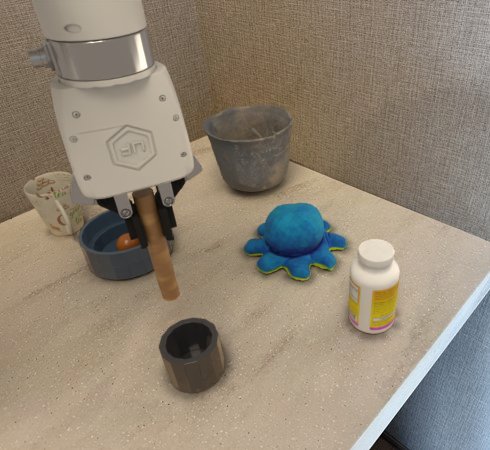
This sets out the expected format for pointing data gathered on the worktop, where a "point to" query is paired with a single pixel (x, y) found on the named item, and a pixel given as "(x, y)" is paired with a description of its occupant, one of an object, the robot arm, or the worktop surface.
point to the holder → (192, 355)
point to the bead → (126, 242)
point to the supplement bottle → (373, 287)
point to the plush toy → (295, 241)
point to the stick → (156, 243)
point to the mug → (55, 202)
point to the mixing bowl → (112, 248)
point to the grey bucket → (251, 145)
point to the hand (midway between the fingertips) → (154, 236)
